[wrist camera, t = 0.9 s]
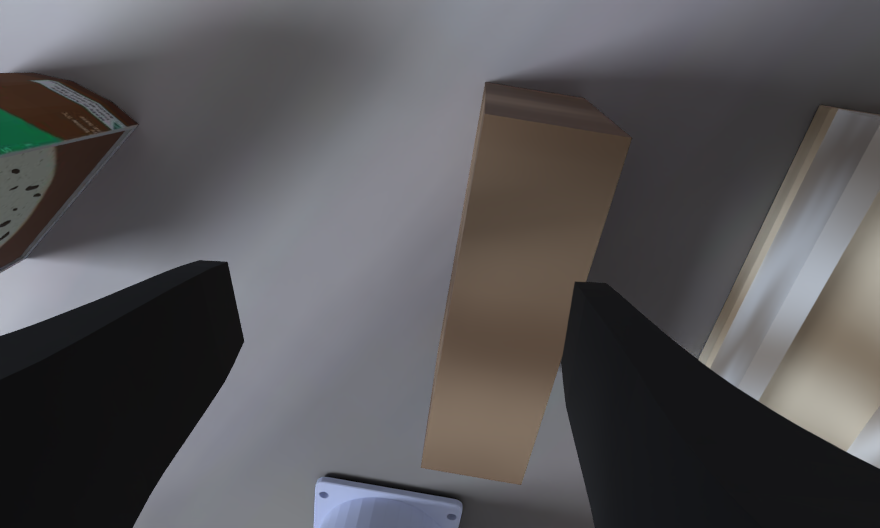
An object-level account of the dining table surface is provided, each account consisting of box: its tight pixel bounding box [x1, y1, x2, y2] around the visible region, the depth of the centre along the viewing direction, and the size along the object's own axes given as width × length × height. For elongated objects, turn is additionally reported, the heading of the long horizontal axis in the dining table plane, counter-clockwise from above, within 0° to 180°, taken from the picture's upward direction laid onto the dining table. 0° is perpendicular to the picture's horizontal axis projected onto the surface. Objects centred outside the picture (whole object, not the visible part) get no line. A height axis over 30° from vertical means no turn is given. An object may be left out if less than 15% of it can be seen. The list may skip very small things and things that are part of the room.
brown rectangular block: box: [421, 82, 632, 485], centre depth 17 cm, size 12×4×6 cm, turn 172°
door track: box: [698, 105, 880, 469], centre depth 20 cm, size 18×9×3 cm, turn 172°
